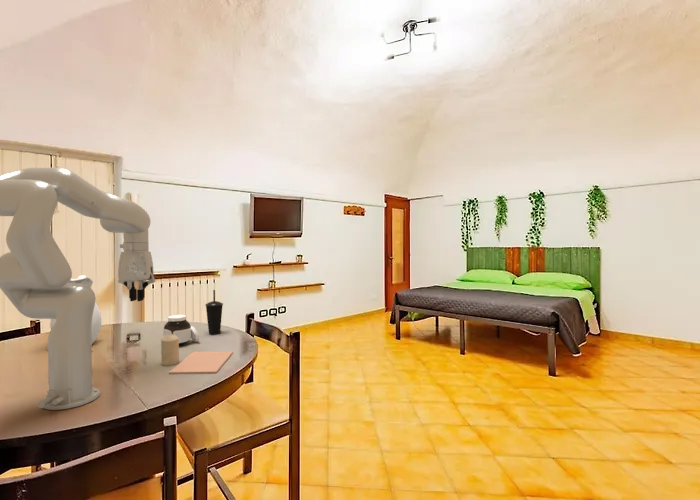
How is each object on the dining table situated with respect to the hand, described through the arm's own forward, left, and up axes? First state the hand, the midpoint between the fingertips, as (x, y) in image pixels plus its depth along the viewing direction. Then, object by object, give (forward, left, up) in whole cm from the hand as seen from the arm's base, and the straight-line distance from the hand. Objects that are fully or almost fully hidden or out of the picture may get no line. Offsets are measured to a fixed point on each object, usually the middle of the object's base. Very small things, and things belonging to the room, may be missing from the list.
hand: (137, 300), depth 133 cm
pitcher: (+28, +37, -22) cm, 51 cm away
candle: (0, -11, -22) cm, 25 cm away
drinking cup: (+41, -14, -22) cm, 49 cm away
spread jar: (+25, -6, -22) cm, 34 cm away
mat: (0, -22, -22) cm, 32 cm away
